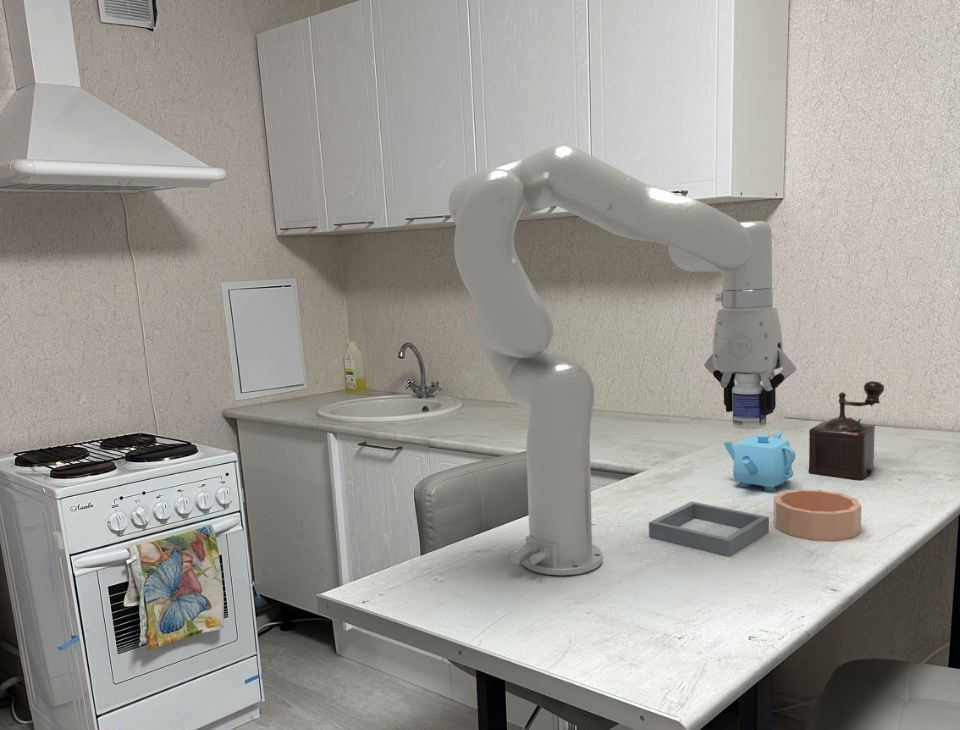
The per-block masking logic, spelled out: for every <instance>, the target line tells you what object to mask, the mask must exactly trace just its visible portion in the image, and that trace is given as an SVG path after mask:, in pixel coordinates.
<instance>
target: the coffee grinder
mask: <svg viewBox="0 0 960 730" xmlns="http://www.w3.org/2000/svg"><path fill="white" fill-rule="evenodd" d="M863 390H864V392H865V394H866V398H865V399H864V401H862V402H858V401H849V400H848V401H847V399H846V393H845V392H841V391H840V392H839V394H838V397H839V399H838V403H839V415H838V417H834V418H831V419H829V420H828V421H822V422H820V423H819V424H817V425H815V426H813V427H811V428H810V429H809V430H808V431H809V438H808V441H809V443H808V444H809V445H808V446H809V447H808V448H809V449H808V456H809V457H808V460H809V461H808V474H812V475H817V476H825V477H832V478H840V479H846V480H856V481H862V480H863V479H865V478H866V477H868V476H870V475H871V474H872V473H873V471H874V468H875V464H874V461H875V430H876V427H875V425H874V424H867V423H866V424H864V423H861V421H862V418H859V419H858V420H857V419H854V418H852V417H847V416H846V411H845V409H846V408H845V406H850V407H852V406H853V407H865V406H870V407H873V406H874V405H875V404H880V403H881V402H880V396H881V395H882V394H883V392H884V391H885V385H884V384H883V383H881V382H878V381H875V380H872V381H871V380H869V381H868V382H865V383H864V385H863Z"/></svg>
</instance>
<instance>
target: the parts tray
mask: <svg viewBox="0 0 960 730" xmlns="http://www.w3.org/2000/svg"><path fill="white" fill-rule="evenodd" d="M692 519H698V520H702V519H703V521H708V522H713V523H716V522H717V523H716V524H722V525H726V526H730V527H734V528H735V527H736V528H739V530H737V531H735V532H733V533H732V534H730V535H728V536H720V535H716V534H712V533H708V532H703V531H700V530H694V529H689V528H686V527H681V526H680V525H683V524H685V523H686V522H688V521H690V520H692ZM769 528H770V517H769V516H765V515H760V514H756V513H751V512H747V511H740V510H736V509H733V508H727V507H721V506H717V505H710V504H707V503H706V504H705V503H702V502H701V503H700V502H697V501H696V502H695V501H690V502H687V503H686V504H684V505H682V506H680V507H677V508H676V509H675V508H674V509H673V510H671V511H668V512H666V513H665V514H663V515H661V516H659V517H657V518H655V519H652V520H650V521H649V522H648V537H649V538H652V539H656V540H659V541H660V540H661V541H664V542H669V543H673V544H676V545H680V546H685V547H688V548H692V549H697V550H701V551H705V552H710V553H714V554H717V555H721V556H725V557H728V558H729V557H731V556H733V555H734V554H736V553H738V551H741V550H742V549H744V548H746V546H748V545H750V544H752V543H753V542H755V541H756V540H757V539H759V538H761V537H763V536H764V535H766V534H767V533H769V532H770V529H769Z"/></svg>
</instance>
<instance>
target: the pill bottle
mask: <svg viewBox="0 0 960 730" xmlns="http://www.w3.org/2000/svg"><path fill="white" fill-rule="evenodd" d="M735 382H736V384H735V386H734V387H733V388H732V411H731V412H732V426H733V427H735V428H737V429H741V430H744V429H745V430H757V429H758V430H759V429H764V428H765V427H766V426H767V422H768V421H767V415H766V416H765V415H762V414H761V391H763V390H764V386H763V384H761V382H762V380H761V376H760V373H744V372H736V379H735Z"/></svg>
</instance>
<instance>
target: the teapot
mask: <svg viewBox="0 0 960 730" xmlns="http://www.w3.org/2000/svg"><path fill="white" fill-rule="evenodd" d="M782 434H783V431H782V430H777V431H776V432H775V433H774V435H773V437H770V435H768V434H766V433H764V434H763V433H759V434H757V435H753V436H750V437H748V438H745V439H743V440H740V441H739V442H737V443H736V445H735V444H734V443H732V441H725V442H724V443H723V445H724V447H725V448H726V450H727V452H728V454H729V455H730V458H731V459H732V461H733V467H732V469H733V471H732V473H733V479H734V482H737V483H740V484H739V487H741V488H750V487H751V486H752V485H755V486H761V487H763V488H764V491H765V492H775V491H776V488H775V487H776V486H785V485H786V484H785V482H787V480H788V479H791V478H793V476H794V470H793V468H792V467H793V466H792V465H793V464H794V462H795V459H796V452H795V450H794V449H793V448H792V447H791V445H790V441H789V440H788V439H781V438H782Z"/></svg>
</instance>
